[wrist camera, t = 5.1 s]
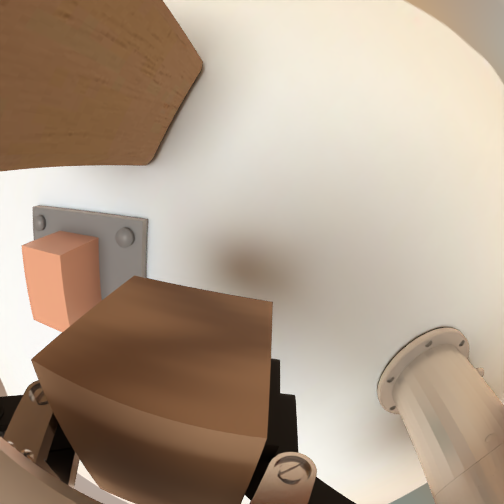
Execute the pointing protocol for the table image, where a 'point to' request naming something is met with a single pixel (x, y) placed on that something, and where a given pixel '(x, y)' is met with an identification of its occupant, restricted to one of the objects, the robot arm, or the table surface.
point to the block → (89, 81)
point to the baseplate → (111, 240)
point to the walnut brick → (164, 391)
